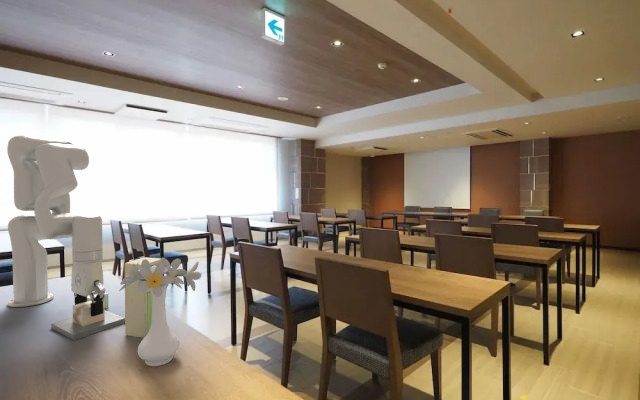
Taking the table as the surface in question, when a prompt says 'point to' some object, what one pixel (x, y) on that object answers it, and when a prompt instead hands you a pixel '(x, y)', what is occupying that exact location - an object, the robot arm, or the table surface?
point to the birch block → (85, 314)
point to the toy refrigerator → (138, 303)
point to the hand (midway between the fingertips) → (88, 311)
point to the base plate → (78, 331)
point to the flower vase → (159, 306)
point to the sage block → (103, 301)
